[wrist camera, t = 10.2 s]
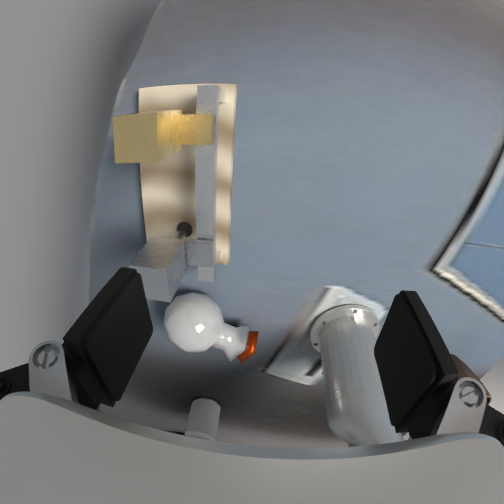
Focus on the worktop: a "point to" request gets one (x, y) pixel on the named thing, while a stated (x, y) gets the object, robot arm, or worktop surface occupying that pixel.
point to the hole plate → (187, 170)
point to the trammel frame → (204, 246)
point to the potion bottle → (206, 328)
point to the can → (203, 419)
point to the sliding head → (158, 134)
